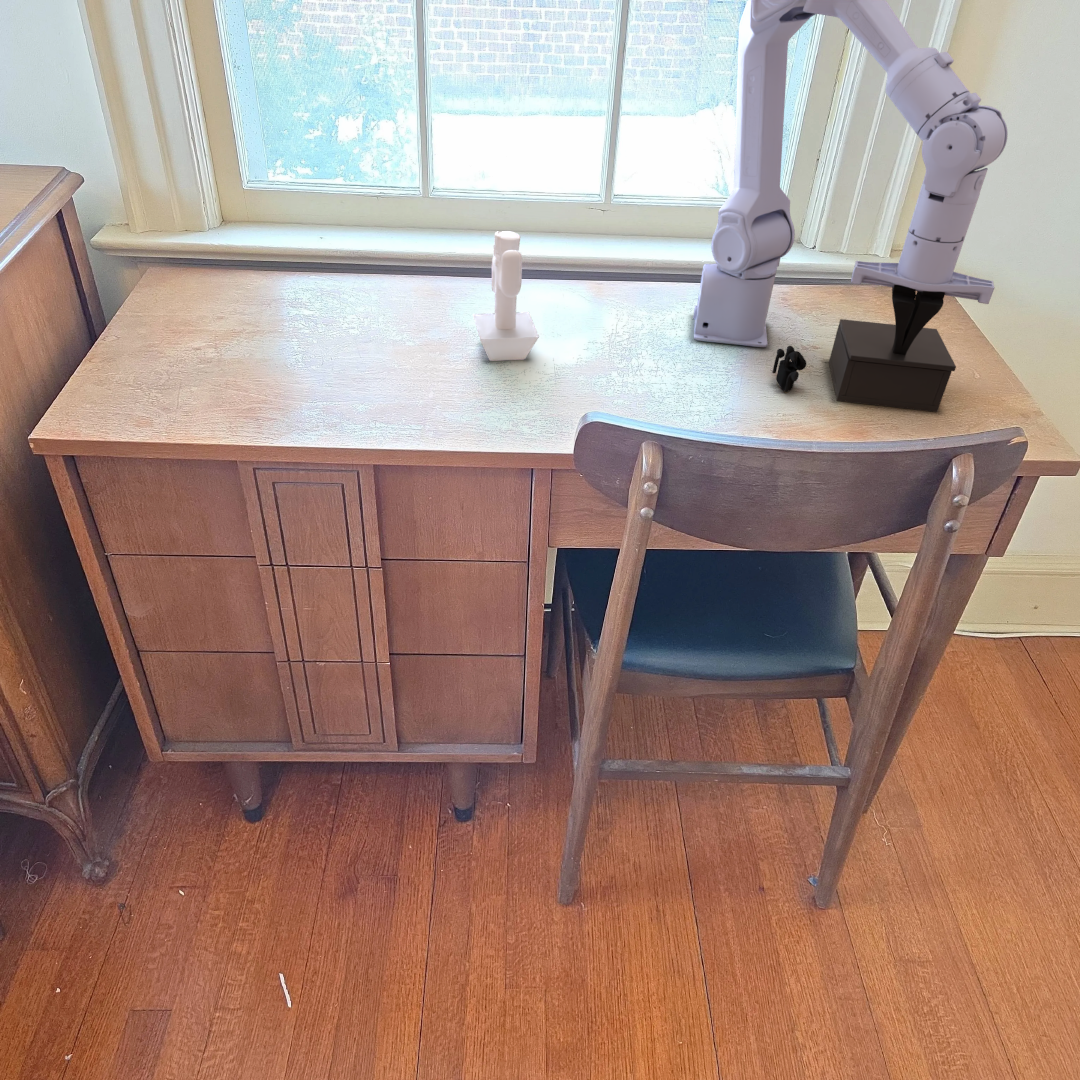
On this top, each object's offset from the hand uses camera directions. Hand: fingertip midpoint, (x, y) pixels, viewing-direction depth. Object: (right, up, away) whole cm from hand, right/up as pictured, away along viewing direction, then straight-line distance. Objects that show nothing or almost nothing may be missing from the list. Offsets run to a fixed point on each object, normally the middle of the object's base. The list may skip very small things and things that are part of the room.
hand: (899, 350), depth 103 cm
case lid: (0, +1, +2) cm, 3 cm away
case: (0, -3, +6) cm, 7 cm away
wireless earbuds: (-12, -4, +5) cm, 13 cm away
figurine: (-46, +2, +9) cm, 47 cm away
